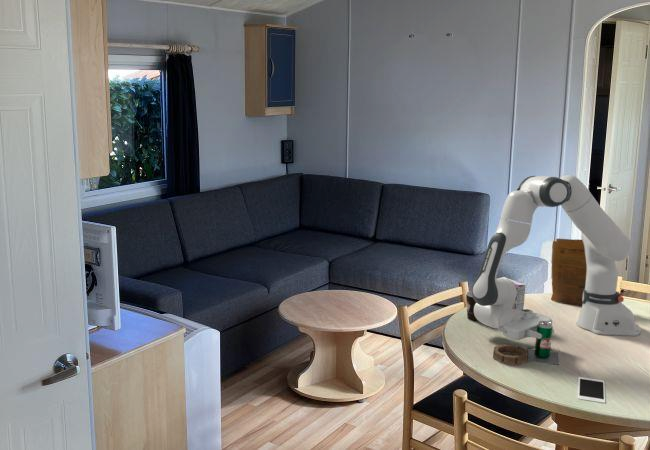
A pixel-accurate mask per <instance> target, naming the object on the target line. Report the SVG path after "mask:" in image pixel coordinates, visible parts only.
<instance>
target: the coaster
mask: <svg viewBox="0 0 650 450" xmlns="http://www.w3.org/2000/svg"><path fill="white" fill-rule="evenodd" d="M534 353H535V348H533V349H532V348H528V349H527V361H528V362H532V363H540V364H547V365H556V366H560V357H559V352H558V351H557V352H556V351H551V350H550V356H549V357H548V358H545V359H543V358H538V357H536V355H535V354H534Z"/></svg>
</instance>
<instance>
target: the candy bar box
mask: <svg viewBox="0 0 650 450" xmlns="http://www.w3.org/2000/svg"><path fill="white" fill-rule="evenodd" d="M496 279H508V280H511V281H512V282H513V283H514V284H515V286H516V288H517V297H516V300H515V303H514V305H513V308H512V309H518V310H524V308H525V307H524V306H525V296H526V295H525V294H526V284H525V283H522V282H519V281H516V280H514V279H511V278H508V277H505V276H502V277H496Z"/></svg>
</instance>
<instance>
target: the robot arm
mask: <svg viewBox="0 0 650 450" xmlns="http://www.w3.org/2000/svg"><path fill="white" fill-rule="evenodd" d="M559 206H560V207H561V208H562V209H563V211H564V212H565V213H566V215H567V216H568V218H569V219H570V221H572V223H573V225H574V226H575V227H576V228H577V229H578V230H579V231H580V232H581V233H580V237H581V238H580V239H581V240H582V241H583V243H584V248H585V256H586V265H587V272H586V283H585V288H584V291H583V297H582V302H583V305H582V306H581V310H580V314H579V316H578V319H577V321H576V324H577V326H579V327H580V328H582V329H585V330H587V331H590V332H592V333H594V334H596V335H603V336H604V335H605V336H606V335H607V336H608V335H610V336H625V337H626V336H629V337H637V336H639V335H641V327H640V325H639V324H638V323H636V322H635V321H636V319H635V315H634V313H633V311H632V310H631V309H630V308H628V307H627V306H626V305H625V304H624V303H623V302H624V296H623V295H622V294H621V293H620V292H619V291H617V287H618V277H619V271H618V268H617V265H616V262H622V261H625V260H626V259H628V257H629V256H630V255H631V253H632V250H633V244H632V241H631V240H630V238H629V237H628V236H627V235H626V234H625V233H624V232H623V231H622V229H621V228H620V227H619V226H618V225H617V224H616V222H615V221H614V220H613V218H611V217H610V216H609V215H608V214H607V213H606V211H605V210H603V208H602V207H601V205H600V204H599V202H598V201H597V200H596V198H595V197H594V196H593V194H592V193H591V192H590V190H589V189H588V188H587V186H586V185H585V183H583V182H582V181H581V180H580V179H579V178H578V176H575V174H566V175H562V176H561V177H558V176H557V177H556V176H549V175H532V176H531V175H529V176H527V177H526V178H524V179H523V180H522V181H520V183H519V185H518V188H517V189H516V190H513V191H511V192H510V193H508V195H507V197H506V199H505V202H504V204H503V207H502V210H501V213H500V219H499V222H498V226H497V228H496V230H495V232H494V234H493V235H492V236H491V238H490V240H489V243H488V245H487V248H486V251H485V253H484V257H483V259H482V262H481V266H480V269H479V272H478V273H477V275H476V278H475V279H474V281H473V282H472V285H471V291H472V296H473V298H474V300H475V302H476V304H475V306H474V315H475V317H476V319H477V320H478V321H480V323H482V324H484V325H485V326H488V327H490V328H492V329H497V331H498V332H500V333H502V335H503V336H505V337H506V338H508V339H511V340H513V341H521V340H524V339H526V338H533V339H534V338H535V339H536V338H538V339H541V338H543V333H540V332H537V325H538V323H539V321H548V322H551V323H552V324H553V320H552V318H551V317H549V316H547V315H544V314H542V313H538V312H533V311H534V310H532V309H529V308H527V309H524V308H523V310H518V309H512V308H513V305H514V303H515V300H516V297H517V288H516V286H515V284H514V283H513V282H512V281H511V280H512V279H511V280H508V279H509V278H508V279H497V278H498V277H497V275H498V273H499V269H500V267H501V263H502V261H503V258H504V256H505V255H506V253H508V252H509V251H510V250H512V249H515V248H516V247H519V246H521V245H522V244H524V243H525V242H526V241H527V240H528V237H529V235H530V232H531V228H532V223H533V217H534V213H535V211H536V210H537V208H538V207H541V208H542V207H547V208H548V207H549V208H555V207H559ZM554 333H555V330H554V328H553V330H552V335H554Z"/></svg>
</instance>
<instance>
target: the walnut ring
mask: <svg viewBox="0 0 650 450" xmlns="http://www.w3.org/2000/svg"><path fill="white" fill-rule="evenodd" d="M492 354H493V355H492V358H493V360H494V361H496V362H499V363H500V364H504V365H511V366H519V365H522V364H526V363H527V361H528V350H527V349H525V348H523V347H522V346H517V345H516V344H515V345H514V344H500V345H495V346H494V347H493V351H492ZM507 354H511V355H507Z"/></svg>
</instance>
